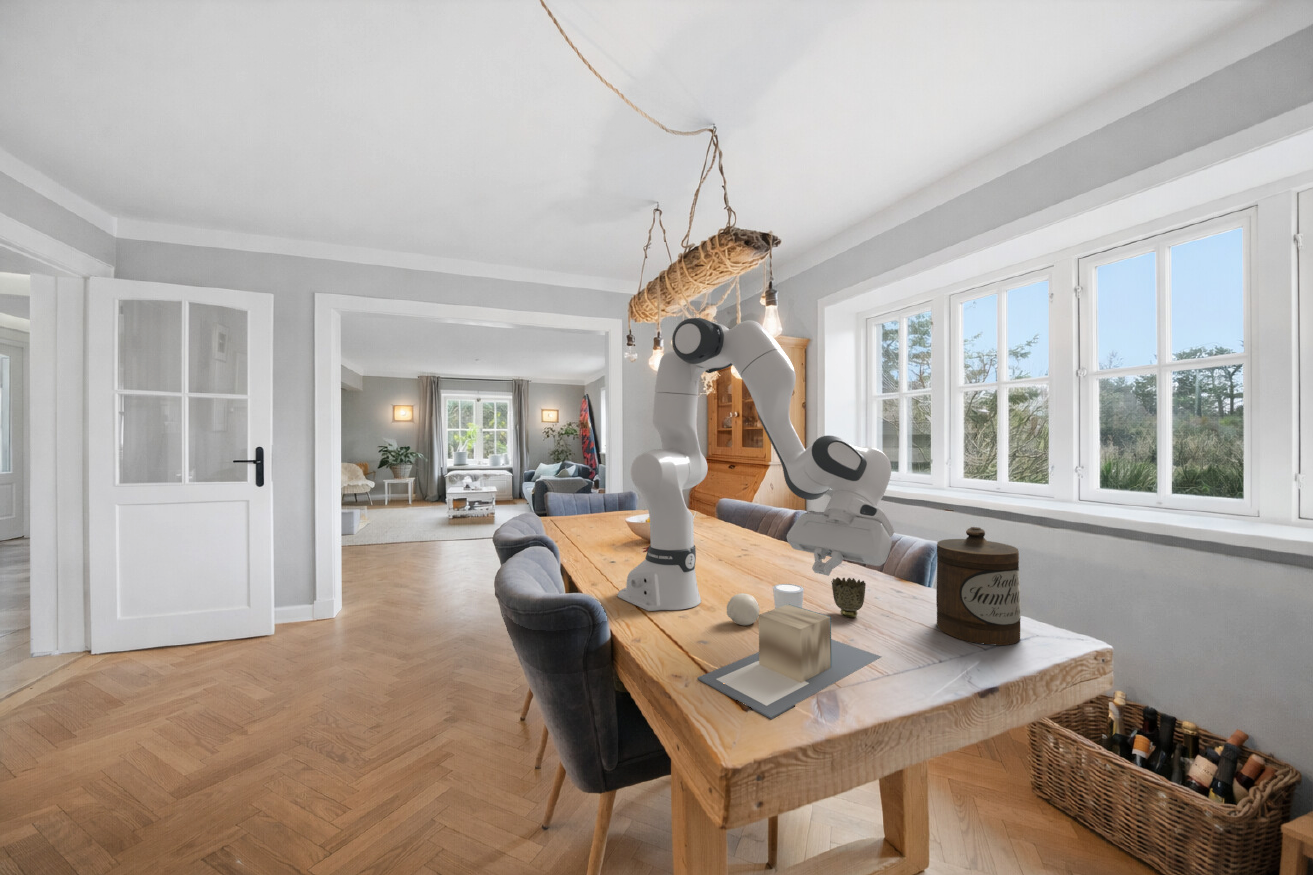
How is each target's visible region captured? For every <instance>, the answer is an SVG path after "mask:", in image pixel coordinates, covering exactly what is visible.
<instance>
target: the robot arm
mask: <svg viewBox="0 0 1313 875" xmlns="http://www.w3.org/2000/svg"><path fill="white" fill-rule="evenodd" d="M671 344H672V345H671V346H672V349H673V350H669V351H667V352H665V353H663V355H662V356H661V358H660V361H659V365H658V368H657V373H656V377H655V378H656V379H655V386H654V397H653V399H654V400H653V415H652V423H653V427H654V428H655V429H656V430H657V431H658V434H659V438H660V440H661V442H660V443H661V448H656V449H651V450H648V451H646V452H643V453H640V454H639V455H637V457H635V459H634V460H633V462H632V463H631V464H632V465H631V466H630V468H631V469H630V478H631V481H632V483H633V484H634V486H635V487H636V488H637V489H638V490H639V492H641V494H642V496H643V498H644V501H645V504H646V507H647V511H648V516H649V529H650V530H649V531H650V532H649V533H650V536H649V537H650V545H648V546H646V547H643V548H642V549H643V551H642V553H646V555H645V559H644V560H643V561H641V562H640V563H639V564H638V565H636V566H635V567H634V568H633V569H631V570H630V571H629V573H628V574H627V578H626V585H625V586H626V587H624V588H622V589H621V590H619V591H618V592H617V596H616V597H617V598H619V599H621V600H624V601H626V602H628V603H630V604H632V605H634V606H637V607H639V608H641V609H644V610H645V611H649V612H651V611H653V612H654V611H678V610H685V609H690V608H694V607H696V606H699V605H700V604H701V602H702V599H701V595H700V592H699V587H698V581H697V575H696V574H697V573H696V559H697V550H696V545H695V544H694V541H695V539H694V536H695V534H694V531H695V530H694V528H695V527H694V515H693V513H692V512H691V510H690V509H689V508H688V507H687V505H686V502H685V499H684V498H685V497H684V492H683V490H689V489H692V488H694V487H695V486H697V485H699V484H700V483H702V482H703V481H704V480H705V479H706V476H707V474H708V469H709V467H708V463H707V459H706V457H705V456H704V454H703V453H702V450H701V446H700V442H699V437H698V430H697V429H698V428H697V427H698V426H697V425H698V424H697V420H698V401H699V386H700V379H701V376H702V375H703V374H704V373H705V372H706V373H707V374H711V373H715V372H717V371H723V370H724V369H725V370H726V369H728V368H730V367H732V366H733V367H734V368H735V370H736V372H738V375H739V376H740V378H741V380H742V381H743V383H744V384H745V386H746V388H747V390H748V392H749V395H750V396H751V399H752V401H753V403H754V406H755V410H756V413H757V415H758V418H759V420H760V423H761V426H762V427H763V429H764V432H765V433H766V435H767V438H768V440H769V441H770V443H771V445H772V447H773V450H774V452H775V453H776V455H777V457H778V459H779V462H780V464H781V467H782V472H783V478H784V481H785V484H786V486H787V487H788V489H789V490H790V492H792V494H794V495H796V497H798V498H801V499H802V500H803V499H804V500H807V501H808V500H809V501H814V500H819V499H820V498H821V497H823V496H824V495H825V494H826V493H827V492H828V491H829V490H831V491H832V496H831V497H830V499H829V501H828V503H827V505H826V507H825V509H824V510H823V511H814V510H809V511H807V512H804V513H801V515H800V516H798V518H797V519H796V521H795V522H794V524H793V525H792V526H791V528H790V529H789V530H788V532H787V534H786V540H787V543H788V544H789V545H790V546H791V548H792V549H793V550H797V551H802V552H805V553H806V552H807V553H810V554H813V557H814V563H813V564H812V568H811V570H812V571H813V572H814V573H815V574H819V575H824V576H827V577H829V576H830V574H831V573H832V571H833V569H836V568H837V567H838V566H840V565H841V564H842V563H843V561H844V560H846V561H851V562H855V563H860V564H864V565H865V564H866V565H870V566H875V567H880V566H883V564H885V563H886V562H887V559H888V557H889V555H890V552H891V548H892V542H893V541H892V539H891V537H893V535H894V533H895V528H894V527H893V524H892V522H891V521H890V519H889V517H888V515H886V513H885V512H884V510H883V509H882V508H879V507H877V505H878V504H879V502H881V501H882V499H883V498H884V495H885V494H886V490H887V488H888V485H889V482H890V480H891V475H892V464H891V460H890V459H889V458H888V456H887V455H886V454H885V453H884V452H883V451H881V450H880V449H877V448H875V447H871V446H856V445H853V444H850V443H849V442H847V441H846V440H844V439H842V438H841V437H839V436H834V435H822V436H820V437H818V438H817V439H816V440H815V441H813V442H812V443H811V444H810V445H808V447H806V448H805V446H804V445H803V443H802V441H801V439H800V437H799V435H798V433H797V431H796V429H795V427H794V426H793V423H792V420H791V417H790V406H791V400H792V396H793V393H794V390H795V387H796V381H797V379H796V378H797V377H796V376H797V375H796V371H795V368H794V365H793V363H792V361H791V359H790V358H789V357H788V355H787V354H786V352H785V351H784V349H783V348H782V346H781V345H780V344H779V342H778V341H777V340H776V339H775V338H774V336H773V335H772V334H771V333H770V332H769V331H768V330H767V329H766V328H765V327H764V326H763V325H762V324H761V323H759V322H758V321H756V320H749V319H748V320H744V321H741V322H738V323H737V324H736V325H734V326H733V327H732V328H730V327H728V326H725V325H724V324H722V323H720V322H717V321H712V320H708V319H705V318H702V317H690V318H686V319H684V320H682V321H681V322H679V323H678V324H677V326H676V328H674V331H673V333H672V338H671ZM827 557H831V558H829V559H828V560H827V561H826V562H823V560H825V559H826V558H827Z"/></svg>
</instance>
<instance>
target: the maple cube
mask: <svg viewBox="0 0 1313 875" xmlns="http://www.w3.org/2000/svg"><path fill="white" fill-rule="evenodd" d="M831 639H832V617H831V616H829V615H825V614H822V613H820V612H816V611H814V610H813V611H812V610H810V609H808V608H807V609H806V608H803V607H802V608H800V607H797V606H794V605H790V604H788V605H785V606H782V607H779V608H777V609H775V608H774V609H771V610H768V611H766V612H763V613H759V616H758V652H759V664H760V665H762V666H764V667H766V668H769V669H771V670H773V671H775V672H778V673H780V674H782V675H785V676H787V677H789V678H791V679H794V680H796V681H798V682H800V683H802V682H804V681H806V680H808V679H810V678H812V677H813V676H815V675H817V674H819V673H821V672H823V671H825V670H827V669H829V668H831V667H832V662H831Z"/></svg>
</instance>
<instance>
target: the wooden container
mask: <svg viewBox="0 0 1313 875" xmlns="http://www.w3.org/2000/svg"><path fill="white" fill-rule="evenodd" d="M965 531H966V533H965V534H966V535H967V537H966V538H950V539H949V538H948V539H941V540H939V541H937V543H936V597H935V598H936V625H937V628H938V629H939V630H940V632H943V633H945V634H947V635H948V636H950V637H953V638H955V639H958V640H962V641H965V642H969V643H973V642H977V643H976V644H979V643H984V644H983V645H985V644H996V645H995V646H1009V644H1010V645H1013V644H1016V643H1018V642H1020V640H1021V613H1022V612H1021V610H1022V609H1021V590H1020V589H1021V588H1020V569H1019V568H1020V565H1019V564H1020V553H1019V548H1017V547H1015V546H1012V545H1009V544H1006V543H1001V542H998V541H997V542H996V541H989V540H986V538H985V535H986V531H985V530H984V529H983V528H981V527H977V526H976V527H975V526H970V527H969V528H966V530H965Z"/></svg>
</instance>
